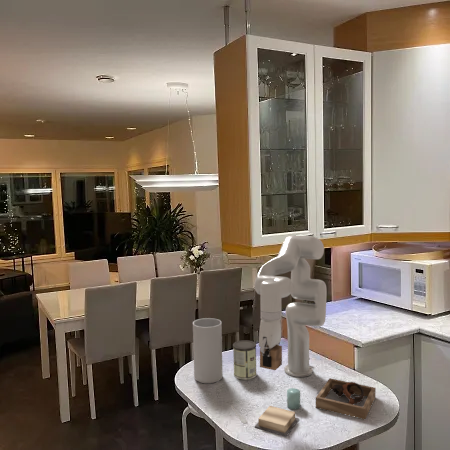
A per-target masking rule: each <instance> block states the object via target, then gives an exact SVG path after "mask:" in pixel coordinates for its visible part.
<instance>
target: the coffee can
mask: <svg viewBox="0 0 450 450" xmlns="http://www.w3.org/2000/svg"><path fill="white" fill-rule="evenodd" d="M232 348H233V350H232V351H233V352H232V353H233V376H234V377H235V378H236V379H238V380H243V381H245V380H247V381H248V380H252V379H254V378H256V376H257V343H256V342H255V341H253V340H243V339H242V340H237V341H234V342H233V344H232Z"/></svg>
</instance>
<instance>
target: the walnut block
mask: <svg viewBox="0 0 450 450" xmlns="http://www.w3.org/2000/svg"><path fill="white" fill-rule="evenodd" d="M266 347H269V346H267V345H266ZM268 350H269V349H266V351H267V352H268ZM270 356H271V367H265V366H263V356H262V352H261V351H260V350H259V367H260V368H263V369H266V370H270V371H277V369H279V368H280V367H281V366H282V365H283V346H282V345H280V344H279V345H276V346H274V347H273V348H271V355H270Z"/></svg>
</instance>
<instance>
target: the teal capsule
mask: <svg viewBox="0 0 450 450" xmlns="http://www.w3.org/2000/svg"><path fill="white" fill-rule="evenodd" d="M286 407H287V408H288V409H290V410H298V409H299V410H300V408H301V390H300V389H298V388H296V387H295V388H294V387H291V388H288V389H287V390H286Z"/></svg>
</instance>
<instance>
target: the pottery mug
mask: <svg viewBox="0 0 450 450" xmlns="http://www.w3.org/2000/svg"><path fill="white" fill-rule="evenodd" d="M348 382H349V383H347V384H344V385H343V386H342V385H339V384H335V385H334V386H333V387H332V389H331V390H332V391H333V393H334V394H335V395H337V397H338V399H340V398H341V397H342V396H343V395H344V396H345V397H346V398H347V399H348V400H349V401H348V402H347V403H348V404H352V405H358V404H359V403H361V402H362V401H363V400H364V397H365V396H364V390H363V388H362V387H361V386H360V385H361V384H360V385H359V384H358V383H357V382H354V381H348ZM354 385H355V386H357V387H358V388H359V389H360V390H361V395H357V396H356V395H355V396H354V394H353V393H354V391H353V390H351V389H350V388H351V386H354ZM337 389H338V390H339V391H338V390H337ZM352 396H353V397H352Z"/></svg>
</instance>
